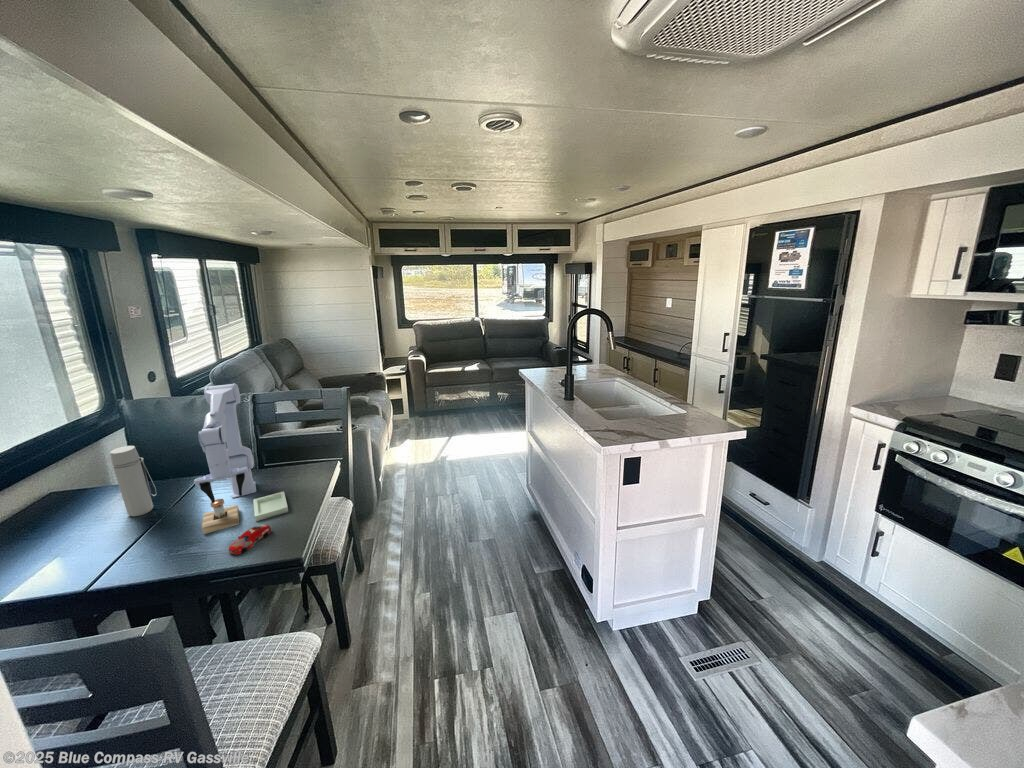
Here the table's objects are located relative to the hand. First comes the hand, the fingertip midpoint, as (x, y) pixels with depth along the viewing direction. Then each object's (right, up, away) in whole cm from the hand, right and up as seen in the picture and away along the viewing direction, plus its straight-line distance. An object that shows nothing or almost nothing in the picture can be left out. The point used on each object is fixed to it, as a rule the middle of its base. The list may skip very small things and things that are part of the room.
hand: (227, 497), depth 138 cm
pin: (-5, -9, +4) cm, 11 cm away
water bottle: (-38, -8, +11) cm, 41 cm away
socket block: (-5, -9, +4) cm, 11 cm away
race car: (+13, -13, -7) cm, 19 cm away
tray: (+8, -7, +12) cm, 16 cm away
